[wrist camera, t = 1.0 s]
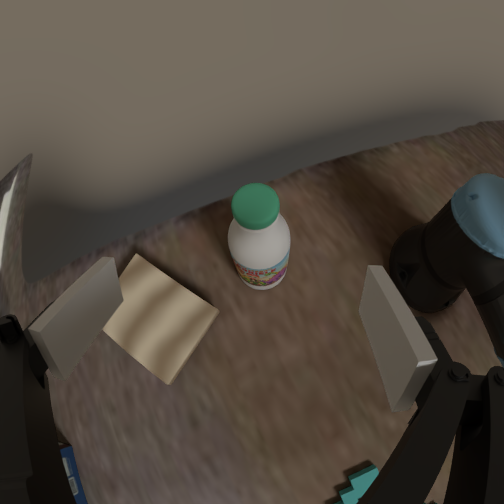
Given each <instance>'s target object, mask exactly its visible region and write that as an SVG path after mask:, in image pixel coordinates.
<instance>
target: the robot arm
mask: <svg viewBox="0 0 504 504" xmlns="http://www.w3.org/2000/svg"><path fill="white" fill-rule="evenodd" d="M390 274H391V279H392V280H391V279H390V277H389V275H388V274H387V272H386V271H385V269H384V268H383V266H377V265H368V268H367V273H366V278H365V283H364V288H363V293H362V298H361V303H360V307H359V311H358V312H359V314H360V317H361V320H362V322H363V325H364V328H365V331H366V333H367V336H368V339H369V342H370V345H371V348H372V350H373V353H374V356H375V359H376V362H377V365H378V368H379V372H380V375H381V378H382V381H383V384H384V387H385V391H386V394H387V397H388V401H389V404H390V407H391V411H392V412H398V411H404V410H409V409H410V408H411V406H412V405H413V403H414V401H416V403H417V406H418V409H417V410H416V412H415V413H414V415H413V416H412V418H411V419H410V421H409V422H408V424H409V425H408V427H407V429H406V431H405V432H404V434H403V436H402V438H401V439H400V441H399V443H398V444H397V446H396V448H395V449H394V451H393V453H392V454H391V456H390V457H389V459H388V460H387V462H386V463H385V465H384V467H383V468H382V469H381V471H380V472H379V474H378V475H377V477H376V478H375V480H374V481H373V482H372V484H371V485H370V486H369V488H368V489H367V491H366V492H365V493H364V494H363V496H362V497H361V498H360V500H359V501H358V502H357V503H356V504H423V503H424V501H425V499H426V497H427V496H428V494H429V492H430V490H431V488H432V486H433V484H434V482H435V480H436V478H437V476H438V474H439V472H440V470H441V467H442V465H443V463H444V461H445V458H446V456H447V454H448V451H449V449H450V446H451V444H452V441H453V439H454V436H455V433H456V436H455V445H454V452H453V459H452V465H451V471H450V476H449V481H448V486H447V490H446V495H445V499H444V503H443V504H504V179H503V178H499V177H498V176H496V175H493V174H487V173H485V174H478V175H476V176H474V177H472V178H471V179H470V180H469V181H468V182H467V183H466V184H465V185H464V186H462V187H460V188H459V189H457V190H456V192H455V193H454V195H453V197H452V198H451V199H450V200H449V202H448V203H447V204H446V205H445V206H444V207H443V208H442V209H441V210H440V211H439V212H438V213H437V214H436V215H435V216H434V217H433V218H432V220H431V221H430V222H428V223H425V224H421V225H417V226H414V227H411V228H410V229H408V230H407V231H405V232H404V233H403V234H402V235H401V236H400V237H399V239H398V240H397V241H396V242H395V244H394V246H393V248H392V251H391V255H390ZM465 288H467V290H468V292H469V294H470V296H471V298H472V299H473V301H474V304H475V306H476V308H477V310H478V312H479V314H480V316H481V318H482V321H483V323H484V325H485V327H486V329H487V332H488V334H489V336H490V339H491V341H492V344H493V346H494V351H495V354H496V355H497V358H498V359H499V360H500V362H501V364H502V366H503V367H500V366H494V367H492V368H491V369H490V370H489V371H488V373H487V375H486V376H482V375H472V374H471V373H470V371H469V369H468V368H467V367H466V366H464V365H463V364H461V363H458V362H453V361H452V359H451V357H450V355H449V354H448V352H447V350H446V348H445V347H444V345H443V343H442V342H441V340H439V336H438V335H437V333H435V330H434V328H433V327H432V325H431V323H429V322H428V321H427V320H426V319H425V318H423V317H414V316H413V314H412V312H411V311H410V309H409V307H408V306H407V304H408V305H409V306H411V307H412V308H414V309H416V310H418V311H421V312H427V313H432V312H437V311H440V310H442V309H445V308H447V307H449V306H450V305H452V304H453V303H454V302H455V301H456V300H457V299H458V297H459V296H460V295H461V293H462V292H463V291H464V290H465ZM123 301H124V299H123V295H122V291H121V287H120V283H119V279H118V275H117V270H116V266H115V261H114V257H102V258H101V259H100V260H98V261H97V262H96V263H95V264H94V265H93V266H92V267H91V268H90V269H88V270H87V271H86V272H85V273H84V274H83V275H82V276H81V277H80V278H79V279H78V280H76V281H75V282H74V283H73V284H72V285H71V286H70V287H69V288H68V289H67V290H66V291H65V292H64V293H63V294H62V295H61V296H60V297H59V298H58V299H57V300H55V301H54V302H52V303H50V304H49V305H48V306H47V307H46V308H45V309H44V311H42V312H41V313H40V314H39V316H37V317H36V318H35V319H34V320H33V322H32V323H31V324H30V325H29V326H28V327H27V328H26V329H25V330H24V331H23V330H22V328H21V326H20V324H19V322H18V320H17V317H16V316H15V315H11V314H10V315H6V316H3V317H1V318H0V504H77V503H76V501H75V498H74V495H73V492H72V489H71V486H70V483H69V480H68V477H67V473H66V470H65V467H64V463H63V459H62V455H61V451H60V447H59V443H58V439H57V434H56V429H55V424H54V419H53V413H52V407H51V400H50V392H49V384H48V377H47V375H46V373H45V371H46V370H47V369H48V368H49V370H50V372H51V373H52V375H53V377H55V378H57V379H60V380H63V381H66V380H67V379H68V377H69V376H70V374H71V373H72V371H73V370H74V368H75V367H76V365H77V364H78V362H79V361H80V360H81V358H82V357H83V355H84V354H85V352H86V351H87V350H88V348H89V347H90V345H91V344H92V343H93V341H94V340H95V338H96V337H97V336H98V334H99V333H100V331H101V330H102V329H103V327H104V326H105V325H106V323H107V322H108V321H109V319H110V318H111V317H112V315H113V314H114V313H115V311H116V310H117V309H118V307H119V306H120V305H121V303H122V302H123ZM406 303H407V304H406Z"/></svg>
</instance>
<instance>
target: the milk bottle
mask: <svg viewBox="0 0 504 504" xmlns="http://www.w3.org/2000/svg"><path fill="white" fill-rule="evenodd" d="M279 208H280V205H279V198H278V196H277V194H276V192H275V191H274V190H273V189H272V188H271V187H269V186H267V185H265V184H261V183H251V184H247V185H244V186H243V187H241V188H240V189H238V190H237V191H236V193H235V194H234V196H233V198H232V202H231V209H232V213H233V217H234V219H233V220H232V222H231V224H230V227H229V231H228V245H229V249H230V253H231V256H232V258H233V261H234V264H235V267H236V269H237V272H238V274H239V276H240V278H241V279H242V281H243V282H244V283H245V284H246V285H248V286H249V287H251V288H254V289H259V290H265V289H270V288H272V287H274V286H276V285H277V284H278V283H280V282H281V280H282V279H283V277H284V276H285V273H286V270H287V264H288V258H289V250H290V232H289V228H288V225H287V223H286V221H285V219H284V218H283V217H282V215H281V214H280V213H279Z"/></svg>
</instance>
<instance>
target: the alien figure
mask: <svg viewBox="0 0 504 504" xmlns="http://www.w3.org/2000/svg"><path fill="white" fill-rule="evenodd" d="M378 474H379V472H378V469H377V467H376V466H375V465H374V464H373V465H371V466H369V467H367V468H365V469H363V470H361V471H359V472H357V473H354V474H352V475H350V476H348V478H349V480H350V483H351V486H350V487H348V488H345V489H343V490H341V491H339V494H340V496H341V498H342V500H341V501H339V502H336V503H334V504H356V503H357V502H358V501H359V500H360V498H361V497H362V496H363V494H364V493H365V492H366V491H367V489H368V488H369V486H370V485H371V484H372V482H373V481H374V480H375V478H376V477H377V475H378ZM423 504H426V503H423ZM435 504H437V503H435Z"/></svg>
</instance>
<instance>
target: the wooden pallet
mask: <svg viewBox="0 0 504 504" xmlns="http://www.w3.org/2000/svg"><path fill="white" fill-rule="evenodd" d="M119 283H120V287H121V291H122V295H123V299H124V301H123V302H122V303H121V305H120V306H119V307H118V309H117V310H116V311H115V313H114V314H113V315H112V317H111V318H110V319H109V321H108V322H107V323H106V325H105V326H104V327H103V329H102V330H103V331H105V332H106V333H107V334H108V335H109V336H110V337H111V338H112V339H113V340H114V341H115V342H116V343H118V344H119V345H120V346H121V347H122V348H123V349H124V350H125V351H127V352H128V353H129V354H130V355H131V356H132V357H134V358H135V359H136V360H137V361H138V362H139V363H141V364H142V365H143V366H144V367H146V368H147V369H148V370H149V371H150V372H152V373H153V374H154V375H156V376H157V377H158V378H159V379H161V380H162V381H163V382H165V383H166V384H167V385H171V384H172V383H173V381H174V380H175V378H176V377H177V375H178V374H179V372H180V371H181V369H182V368H183V366H184V365H185V363H186V362H187V360H188V359H189V357H190V356H191V354H192V353H193V351H194V350H195V348H196V347H197V345H198V344H199V342H200V341H201V339H202V338H203V336H204V335H205V333H206V332H207V330H208V329H209V327H210V326H211V324H212V323H213V321H214V320H215V318H216V317H217V315H218V314H219V312H220V311H219V310H218V309H216V308H215V307H213V306H212V305H210V304H209V303H207V302H206V301H204V300H203V299H201V298H200V297H198V296H197V295H195V294H194V293H192V292H191V291H189V290H188V289H186V288H185V287H183V286H182V285H180V284H179V283H177V282H176V281H175V280H173V279H172V278H170V277H169V276H167V275H166V274H164V273H163V272H162V271H160V270H159V269H157V268H156V267H155V266H153V265H152V264H150V263H149V262H148V261H146V260H145V259H143V258H142V257H141V256H139V255H138V254H137V253H136V254H135V256H134V257H133V258H132V260H131V261H130V263H129V264H128V266H127V267H126V269H125V270H124V272H123V273H122V274H121V276H120V277H119Z"/></svg>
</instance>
